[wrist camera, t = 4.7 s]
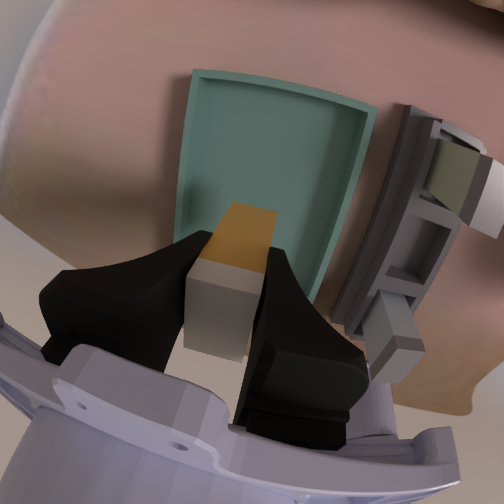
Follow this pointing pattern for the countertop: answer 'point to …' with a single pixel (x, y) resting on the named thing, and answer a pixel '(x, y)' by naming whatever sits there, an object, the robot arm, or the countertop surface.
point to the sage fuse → (468, 186)
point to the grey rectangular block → (391, 338)
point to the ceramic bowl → (490, 4)
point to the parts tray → (272, 162)
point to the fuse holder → (403, 224)
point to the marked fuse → (228, 283)
